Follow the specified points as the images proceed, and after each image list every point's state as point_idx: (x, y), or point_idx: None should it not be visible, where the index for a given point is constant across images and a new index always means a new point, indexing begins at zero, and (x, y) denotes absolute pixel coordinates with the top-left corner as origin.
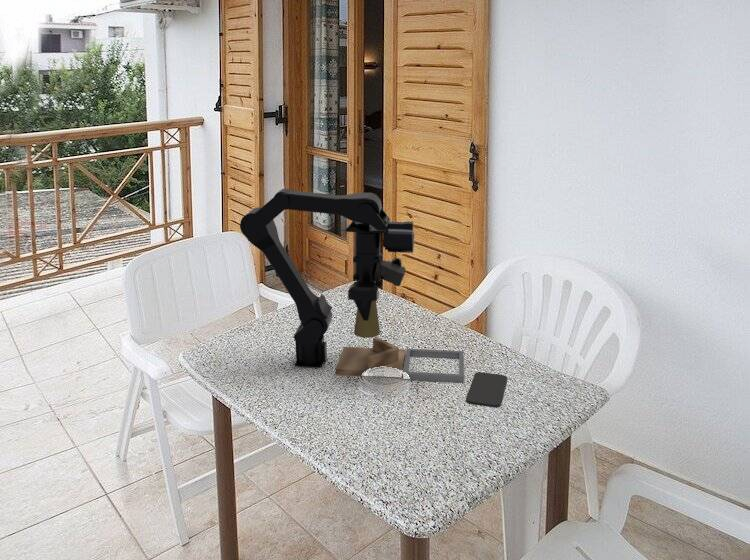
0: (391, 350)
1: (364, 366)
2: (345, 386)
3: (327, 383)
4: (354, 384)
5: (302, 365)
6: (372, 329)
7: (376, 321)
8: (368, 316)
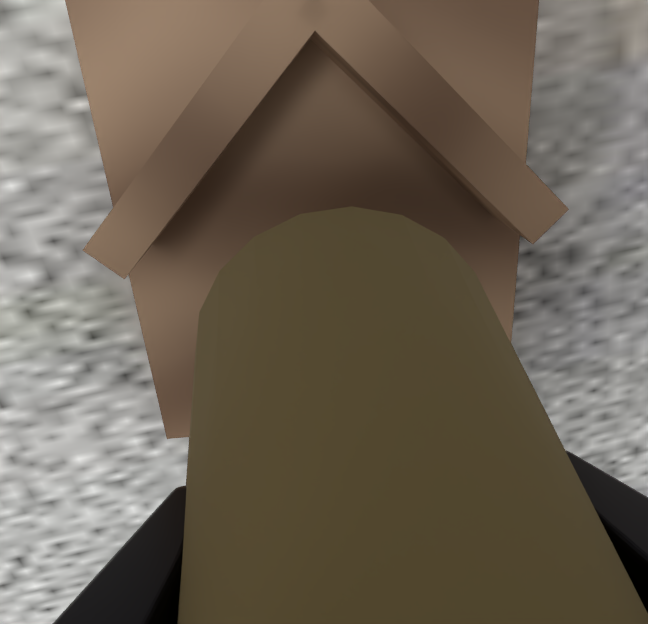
0: (380, 40)
1: (458, 246)
2: (637, 302)
3: (595, 399)
4: (613, 259)
5: None
6: (492, 311)
7: (450, 311)
8: (640, 495)
